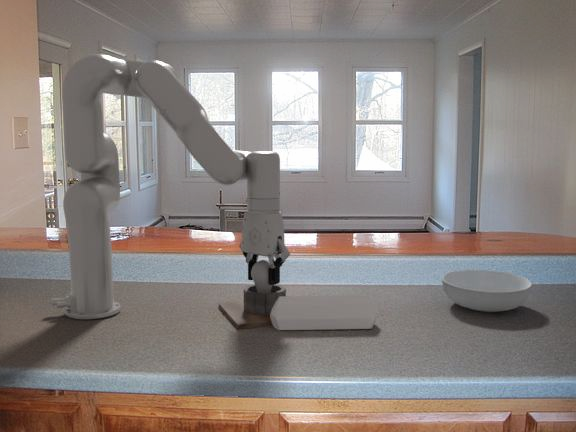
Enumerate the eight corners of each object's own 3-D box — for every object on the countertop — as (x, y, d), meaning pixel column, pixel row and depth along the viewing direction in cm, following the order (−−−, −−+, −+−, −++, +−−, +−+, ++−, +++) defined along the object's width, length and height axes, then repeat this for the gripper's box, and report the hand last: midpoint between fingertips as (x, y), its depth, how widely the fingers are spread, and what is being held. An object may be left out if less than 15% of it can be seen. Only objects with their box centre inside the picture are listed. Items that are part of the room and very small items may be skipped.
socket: (238, 329, 142) (237, 302, 141) (218, 307, 159) (218, 283, 158) (314, 320, 148) (314, 294, 147) (288, 300, 165) (288, 276, 164)
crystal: (373, 302, 150) (269, 303, 149) (378, 294, 143) (269, 295, 142) (376, 334, 147) (269, 336, 146) (381, 327, 141) (270, 329, 140)
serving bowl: (434, 314, 153) (435, 285, 152) (447, 292, 172) (448, 266, 171) (529, 324, 145) (530, 294, 144) (531, 300, 164) (533, 273, 163)
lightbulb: (279, 308, 151) (280, 262, 149) (254, 310, 149) (254, 263, 148) (273, 301, 157) (273, 256, 155) (248, 303, 155) (248, 258, 153)
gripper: (226, 203, 153) (226, 278, 155) (279, 210, 141) (279, 291, 144) (248, 200, 158) (249, 273, 161) (302, 207, 147) (302, 285, 149)
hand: (263, 280), depth 152 cm, fingers closed on lightbulb, 6 cm apart
